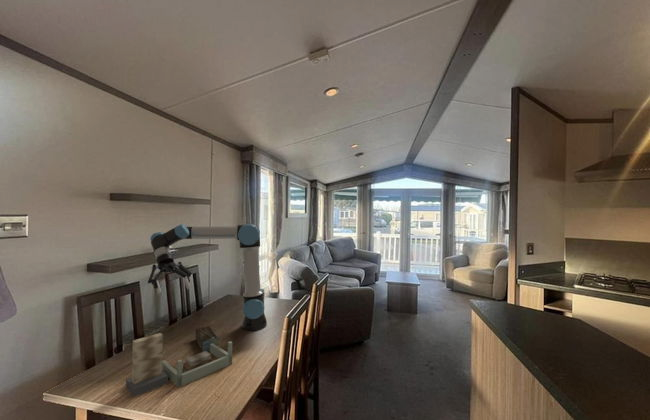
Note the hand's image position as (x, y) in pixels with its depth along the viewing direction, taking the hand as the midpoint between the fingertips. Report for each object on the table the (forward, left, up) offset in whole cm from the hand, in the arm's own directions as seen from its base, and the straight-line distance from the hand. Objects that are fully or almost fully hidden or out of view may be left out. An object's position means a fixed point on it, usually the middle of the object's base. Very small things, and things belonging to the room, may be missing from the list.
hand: (174, 290), depth 139 cm
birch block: (+10, +23, -29) cm, 38 cm away
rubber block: (+10, +23, -32) cm, 40 cm away
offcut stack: (-9, +21, -32) cm, 39 cm away
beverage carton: (-16, -5, -32) cm, 36 cm away
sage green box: (-9, +18, -32) cm, 37 cm away
